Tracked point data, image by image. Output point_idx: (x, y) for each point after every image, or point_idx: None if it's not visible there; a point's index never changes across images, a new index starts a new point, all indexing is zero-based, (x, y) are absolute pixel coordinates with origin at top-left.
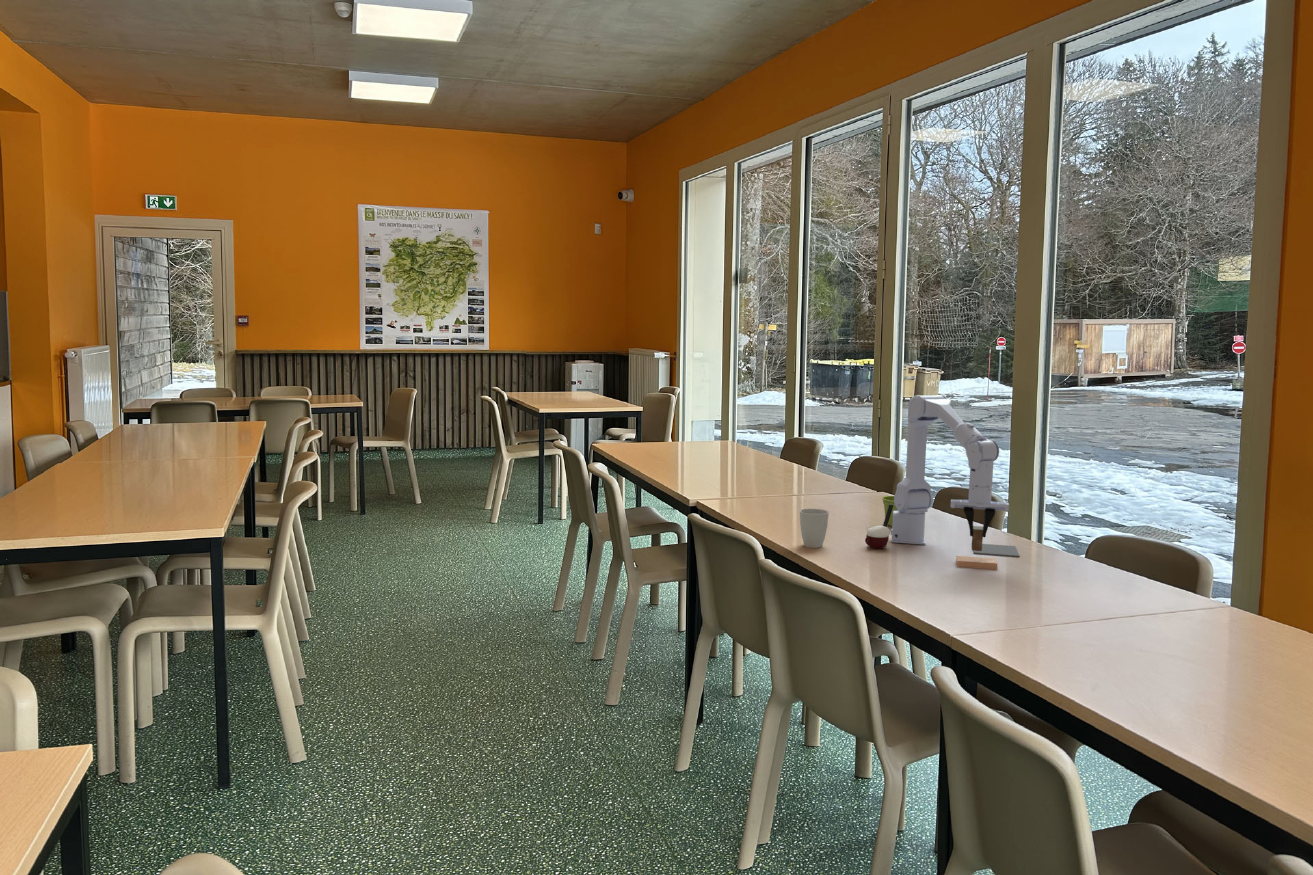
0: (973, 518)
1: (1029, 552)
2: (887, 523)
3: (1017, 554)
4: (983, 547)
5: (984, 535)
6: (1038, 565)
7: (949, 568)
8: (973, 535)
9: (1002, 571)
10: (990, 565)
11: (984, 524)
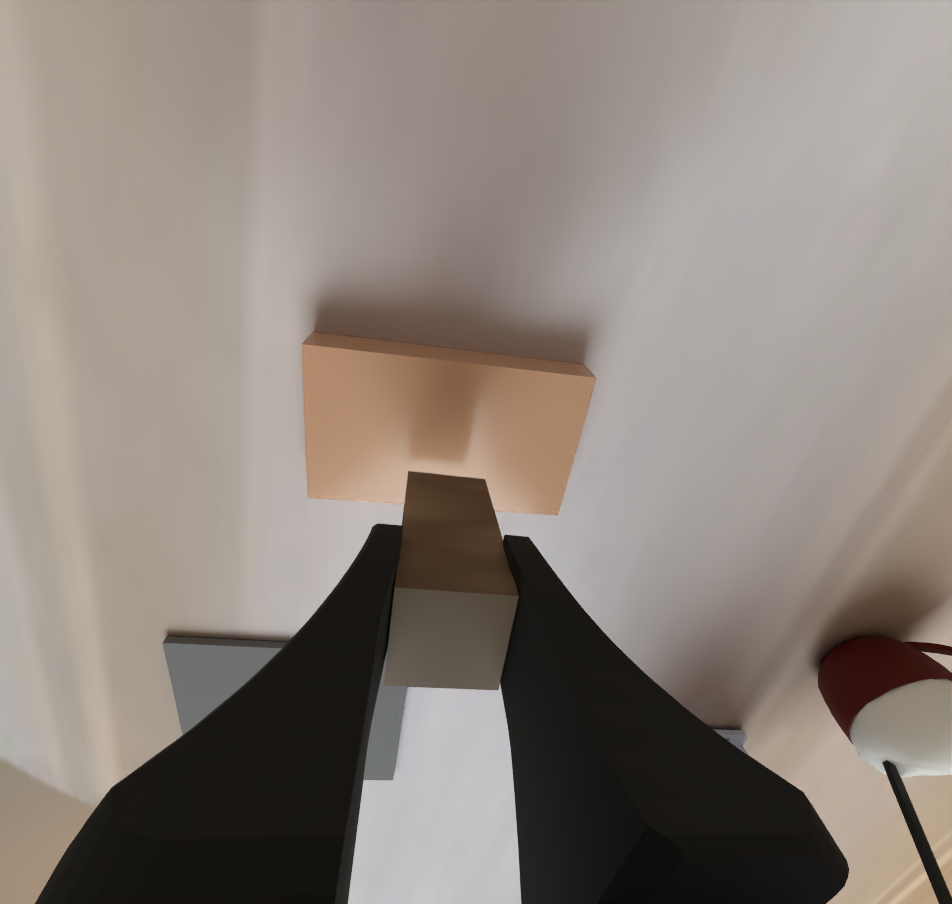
0: (582, 712)
1: (120, 718)
2: (905, 800)
3: (175, 661)
4: None
5: (383, 533)
6: (28, 490)
7: (658, 295)
8: (499, 547)
9: (276, 272)
10: (358, 344)
11: (378, 627)
